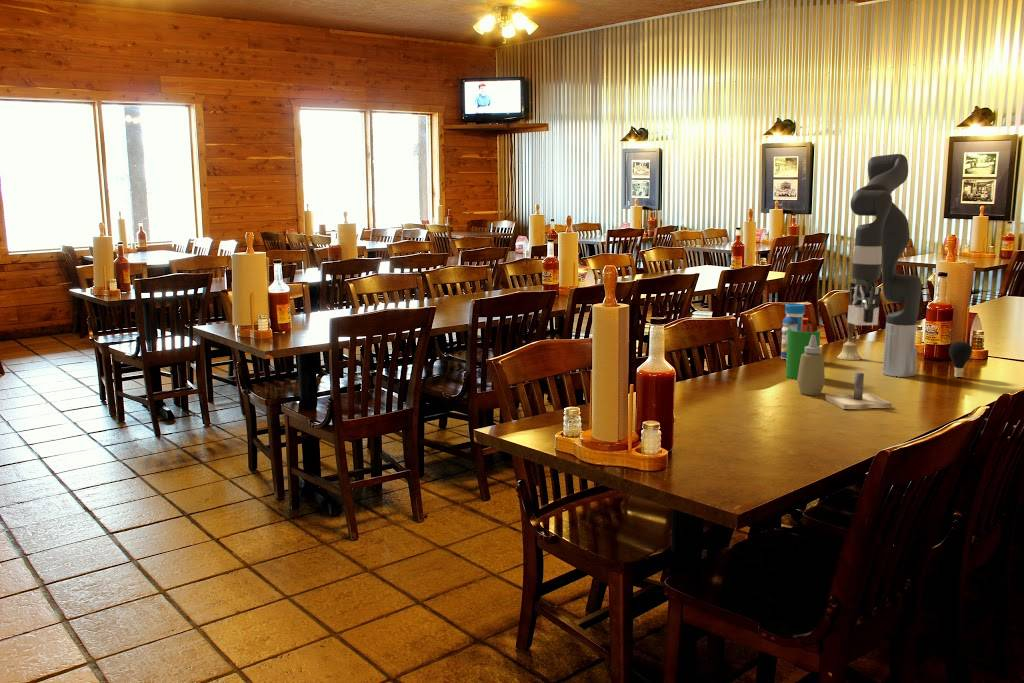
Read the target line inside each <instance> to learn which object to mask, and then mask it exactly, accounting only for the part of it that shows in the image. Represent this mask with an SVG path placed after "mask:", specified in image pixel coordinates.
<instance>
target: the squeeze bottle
mask: <svg viewBox="0 0 1024 683" xmlns="http://www.w3.org/2000/svg"><path fill="white" fill-rule="evenodd" d="M821 351H822V348H821V346H820V347H818V346H817V341H816V335H811V339H810V342H809V346H806V347H805V353H803V354H802V355H801V359H800V366H799V372H798V378H797V379H796V380H797V381H796V382H797V385H798V386H797V387H798V388H799V393H801V394H802V395H806V396H817V395H821V393H822V392H823V389H824V387H825V384H826V378H825V377H826V375H825V357H824V355H823V354H822V352H821Z"/></svg>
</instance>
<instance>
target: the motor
mask: <svg viewBox="0 0 1024 683" xmlns="http://www.w3.org/2000/svg"><path fill="white" fill-rule="evenodd" d="M808 326H809V317H804V318H802V326H801V332H798V331H792V330H791V329H788V336H787V357H786V360H785V361H786V362H785V365H786V366H785V377H786V378H788V377H789V378H788V379H792V378H793V379H794V380H797V378H798V372H799V366H800V359H801V355H802V354H803V353H805V347H806V346H809V342H810V339H811V335H816V341H817V346H818V347H821V346H820V344H821V329H817V330H815V331H808Z"/></svg>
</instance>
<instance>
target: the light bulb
mask: <svg viewBox="0 0 1024 683" xmlns="http://www.w3.org/2000/svg"><path fill="white" fill-rule="evenodd" d="M948 353H949V357H950V359H951V361H952V363H953V365H954V373H953V374H954V375H953V376H954V377H955V378H957V377H962V378H963V377H964V367H965V365H966V364H967V362H968V361H969V360H970V358H971V356H972V354H973V349H972V345H970V344H969V343H968V342H966V341H960V340H958V341H955V342H952V344H951V345H950V347H949V349H948Z"/></svg>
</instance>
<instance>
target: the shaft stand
mask: <svg viewBox="0 0 1024 683" xmlns="http://www.w3.org/2000/svg"><path fill="white" fill-rule="evenodd" d="M864 377H865V373H863V372H855V374H854V382H853V383H854V386H853V393H841V394H825V395H824V396H825V397H824V400H825V399H826V400H825V401H826V402H828V401H829V403H830V402H831V404H832V403H833V404H832V405H834V404H835V405H834V406H836V405H837V406H836V407H838V406H839V407H838V408H840V407H841V408H843V409H858V410H868V409H867V408H889V409H892V407H893V406H892V402H890V401H888V400H886V399H883V398H881V397H879V396H877V395H875V394H873V393H871V392H870V393H867V392H866V393H863V392H864ZM841 408H840V409H841ZM843 409H842V410H843Z"/></svg>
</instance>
